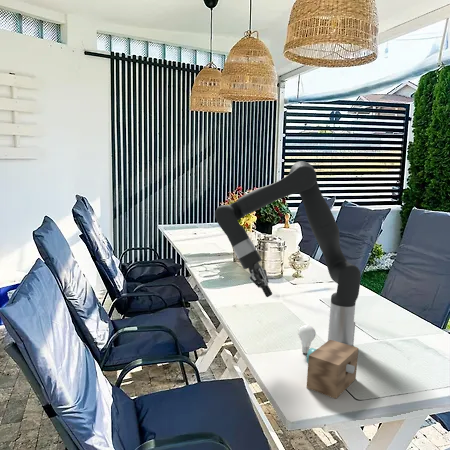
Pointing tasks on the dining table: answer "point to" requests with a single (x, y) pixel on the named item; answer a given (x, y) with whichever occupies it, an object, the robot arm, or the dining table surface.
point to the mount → (331, 368)
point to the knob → (348, 367)
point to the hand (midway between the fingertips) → (269, 295)
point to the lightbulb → (306, 337)
